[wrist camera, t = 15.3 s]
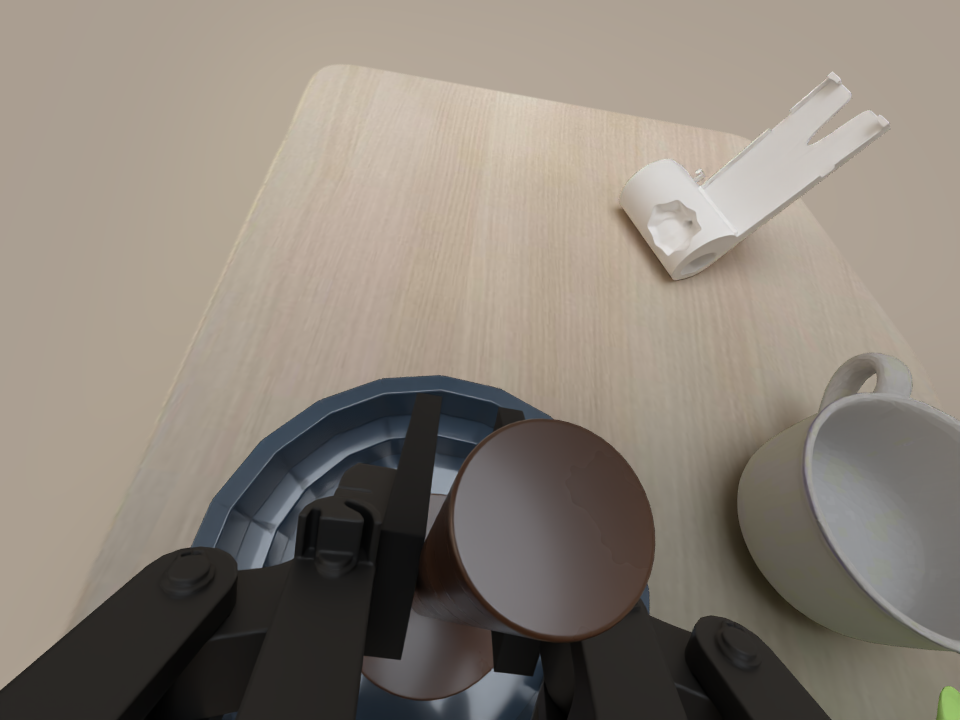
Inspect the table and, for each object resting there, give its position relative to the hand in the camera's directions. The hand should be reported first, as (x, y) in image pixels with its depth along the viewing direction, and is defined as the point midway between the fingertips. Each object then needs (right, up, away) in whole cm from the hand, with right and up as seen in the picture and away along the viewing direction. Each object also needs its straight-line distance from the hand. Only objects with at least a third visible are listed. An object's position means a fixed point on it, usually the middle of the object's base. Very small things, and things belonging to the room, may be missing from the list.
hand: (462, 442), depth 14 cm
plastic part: (+16, +12, +22) cm, 30 cm away
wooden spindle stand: (-2, -6, +3) cm, 7 cm away
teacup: (+19, -6, +13) cm, 24 cm away
